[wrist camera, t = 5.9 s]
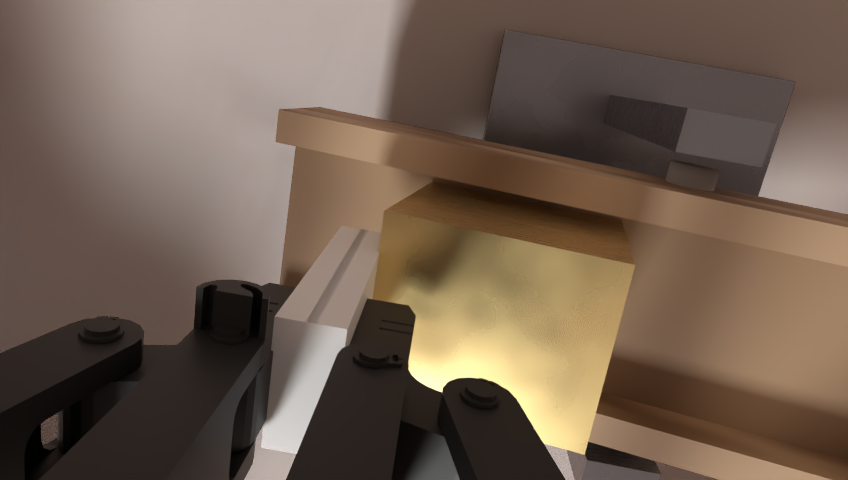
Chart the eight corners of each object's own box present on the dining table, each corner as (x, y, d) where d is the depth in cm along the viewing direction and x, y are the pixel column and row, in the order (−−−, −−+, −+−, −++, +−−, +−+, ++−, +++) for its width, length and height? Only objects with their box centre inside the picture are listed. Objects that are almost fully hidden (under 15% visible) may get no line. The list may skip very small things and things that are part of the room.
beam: (322, 302, 27) (244, 365, 21) (352, 90, 25) (273, 89, 18) (964, 476, 22) (1111, 626, 16) (1083, 233, 20) (1313, 298, 13)
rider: (407, 324, 21) (357, 391, 16) (431, 182, 20) (384, 210, 15) (584, 369, 20) (584, 454, 15) (621, 221, 19) (635, 265, 14)
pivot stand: (437, 364, 31) (422, 508, 21) (504, 31, 26) (527, 6, 16) (676, 410, 30) (779, 578, 20) (783, 81, 26) (982, 88, 16)
